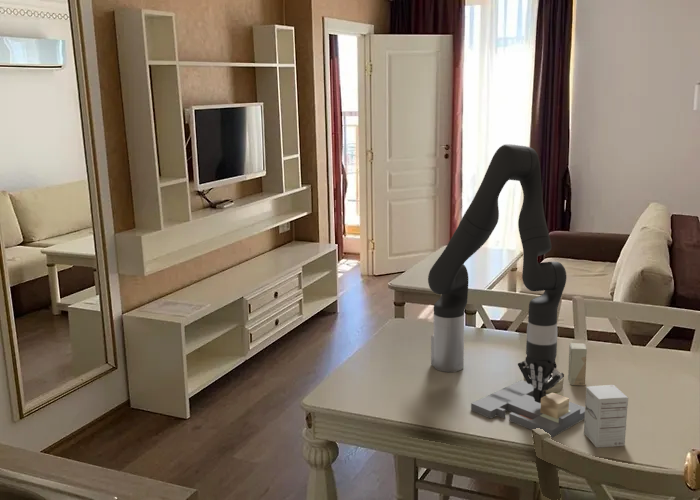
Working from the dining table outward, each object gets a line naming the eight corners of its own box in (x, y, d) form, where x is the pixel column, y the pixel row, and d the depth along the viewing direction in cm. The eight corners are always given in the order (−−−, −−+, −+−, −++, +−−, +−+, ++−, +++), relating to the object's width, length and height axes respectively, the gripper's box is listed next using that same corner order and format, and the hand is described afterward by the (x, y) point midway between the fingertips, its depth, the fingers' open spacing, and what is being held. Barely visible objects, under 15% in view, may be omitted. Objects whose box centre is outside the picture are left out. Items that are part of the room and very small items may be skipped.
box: (585, 386, 197) (587, 349, 195) (569, 385, 198) (571, 348, 195) (583, 378, 202) (584, 343, 200) (567, 377, 203) (569, 342, 200)
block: (540, 412, 177) (540, 398, 177) (551, 406, 181) (552, 392, 180) (557, 419, 174) (557, 404, 173) (568, 412, 177) (569, 398, 176)
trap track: (471, 410, 184) (471, 398, 183) (521, 386, 198) (521, 375, 197) (545, 441, 167) (545, 428, 166) (594, 413, 181) (595, 400, 180)
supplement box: (582, 433, 170) (585, 385, 168) (611, 431, 171) (614, 383, 168) (595, 448, 163) (598, 398, 160) (625, 446, 164) (629, 396, 161)
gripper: (573, 341, 174) (569, 405, 178) (528, 328, 183) (526, 389, 187) (555, 349, 169) (552, 414, 173) (511, 335, 179) (509, 397, 183)
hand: (539, 401), depth 180 cm, fingers closed
